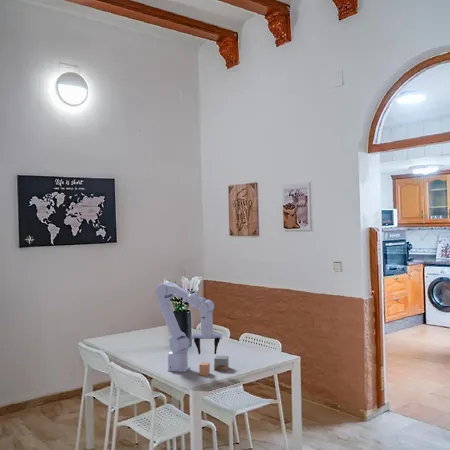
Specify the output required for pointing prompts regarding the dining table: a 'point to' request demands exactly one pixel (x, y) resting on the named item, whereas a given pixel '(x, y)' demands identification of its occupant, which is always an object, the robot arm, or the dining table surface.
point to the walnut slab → (221, 367)
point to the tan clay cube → (204, 369)
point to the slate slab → (221, 360)
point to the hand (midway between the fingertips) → (207, 353)
